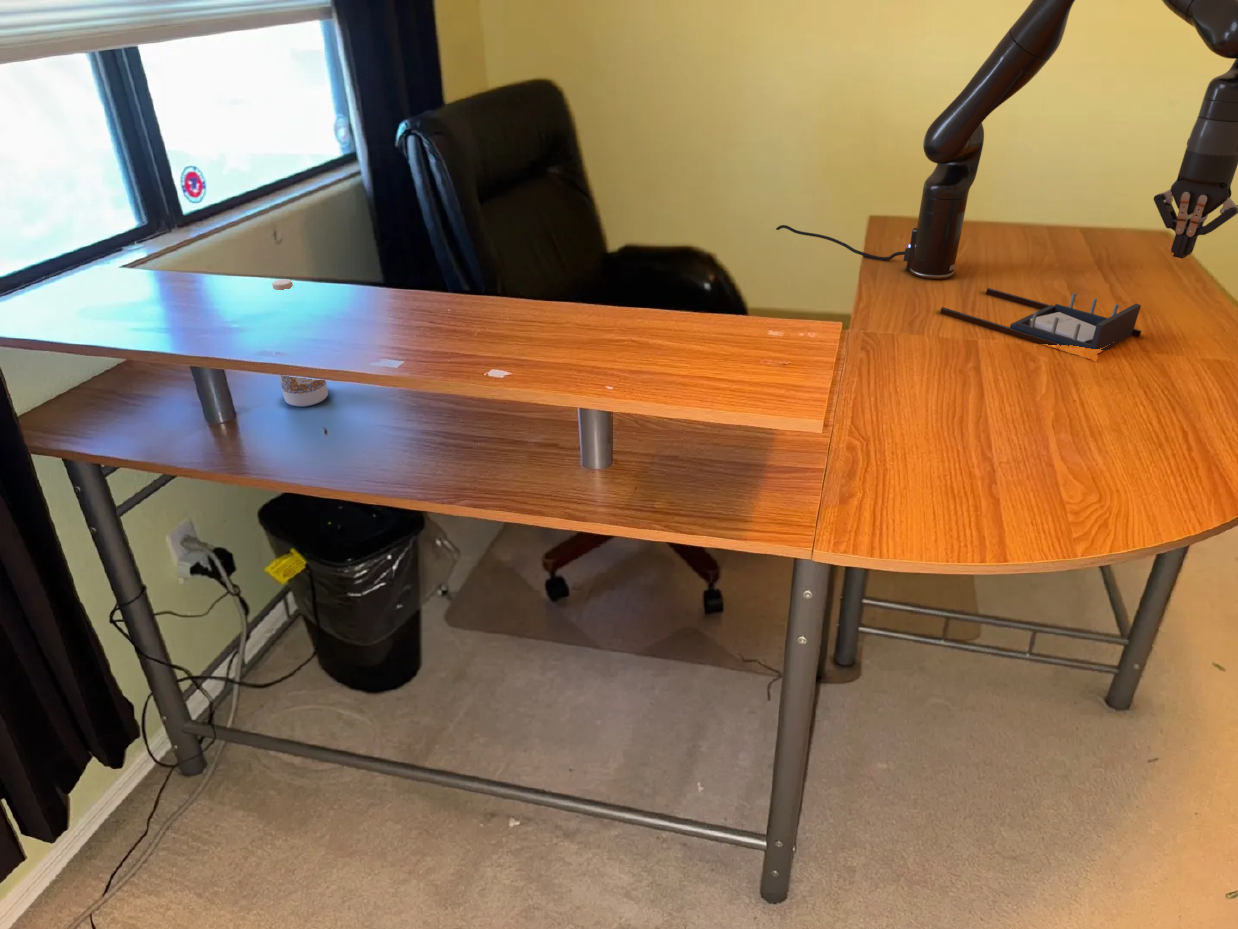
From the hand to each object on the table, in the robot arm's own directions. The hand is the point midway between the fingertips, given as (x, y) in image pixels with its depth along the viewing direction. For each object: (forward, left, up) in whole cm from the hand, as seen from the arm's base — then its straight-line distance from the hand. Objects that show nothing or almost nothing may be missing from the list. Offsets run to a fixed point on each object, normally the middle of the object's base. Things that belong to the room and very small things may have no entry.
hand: (1179, 256), depth 147 cm
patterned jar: (-83, -120, -18) cm, 147 cm away
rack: (-14, 0, -18) cm, 23 cm away
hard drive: (-14, 0, -18) cm, 23 cm away
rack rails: (-21, 0, -18) cm, 27 cm away
